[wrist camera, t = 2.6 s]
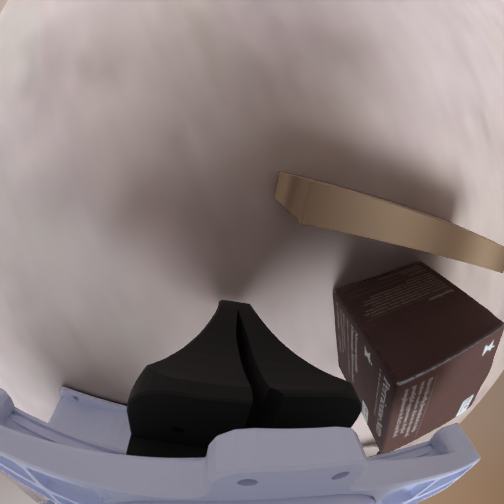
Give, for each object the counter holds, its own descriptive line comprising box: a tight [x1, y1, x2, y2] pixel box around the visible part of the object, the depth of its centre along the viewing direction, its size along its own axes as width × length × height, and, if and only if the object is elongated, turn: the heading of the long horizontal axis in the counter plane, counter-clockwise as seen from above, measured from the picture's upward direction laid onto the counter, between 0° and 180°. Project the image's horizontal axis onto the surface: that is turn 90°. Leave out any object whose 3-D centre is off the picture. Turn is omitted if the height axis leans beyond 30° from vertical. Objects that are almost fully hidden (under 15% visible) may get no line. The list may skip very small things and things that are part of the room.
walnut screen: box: [274, 172, 504, 273], centre depth 11 cm, size 11×1×5 cm, turn 78°
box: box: [333, 262, 504, 454], centre depth 12 cm, size 6×6×7 cm
